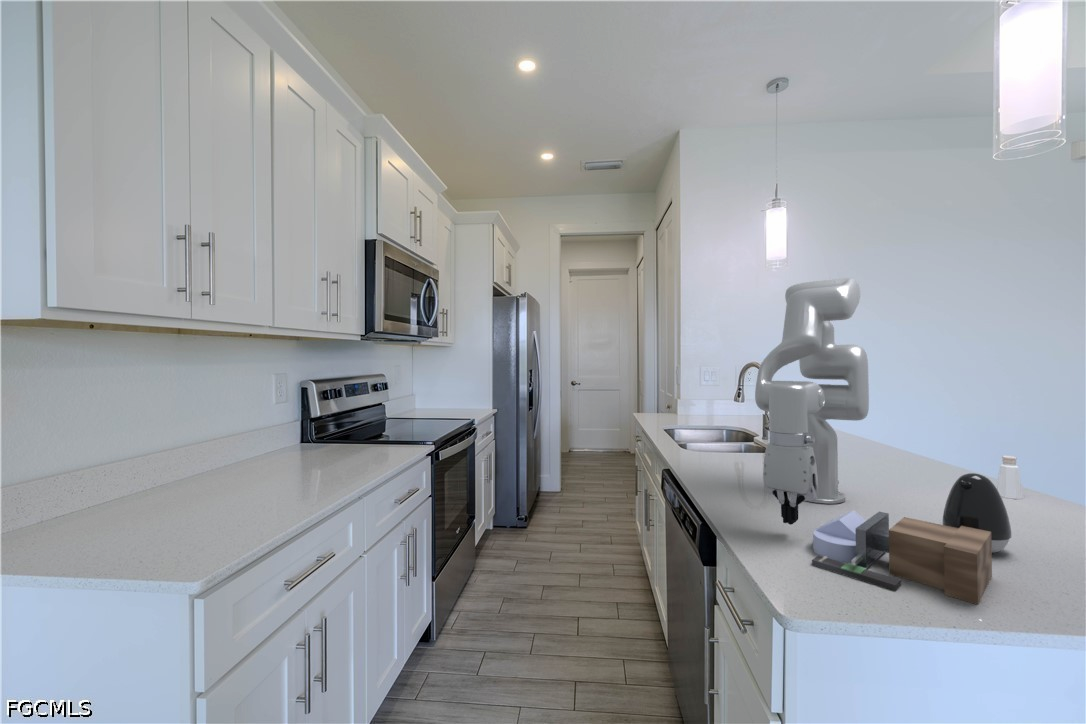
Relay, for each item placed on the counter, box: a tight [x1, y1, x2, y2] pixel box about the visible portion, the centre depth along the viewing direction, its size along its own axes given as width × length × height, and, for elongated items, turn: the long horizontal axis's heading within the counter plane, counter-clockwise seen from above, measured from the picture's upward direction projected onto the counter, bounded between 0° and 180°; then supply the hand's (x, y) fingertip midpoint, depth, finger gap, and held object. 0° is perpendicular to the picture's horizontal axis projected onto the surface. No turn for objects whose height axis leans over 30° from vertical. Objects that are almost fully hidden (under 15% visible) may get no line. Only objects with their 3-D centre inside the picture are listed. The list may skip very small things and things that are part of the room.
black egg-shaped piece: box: [942, 472, 1013, 554], centre depth 93 cm, size 10×10×15 cm
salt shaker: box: [996, 455, 1024, 500], centre depth 125 cm, size 5×5×11 cm
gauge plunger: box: [850, 511, 890, 570], centre depth 84 cm, size 18×10×7 cm, turn 129°
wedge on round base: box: [812, 509, 866, 564], centre depth 93 cm, size 9×7×13 cm
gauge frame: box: [811, 517, 993, 605], centre depth 84 cm, size 18×22×8 cm
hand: (789, 522), depth 101 cm, fingers closed
